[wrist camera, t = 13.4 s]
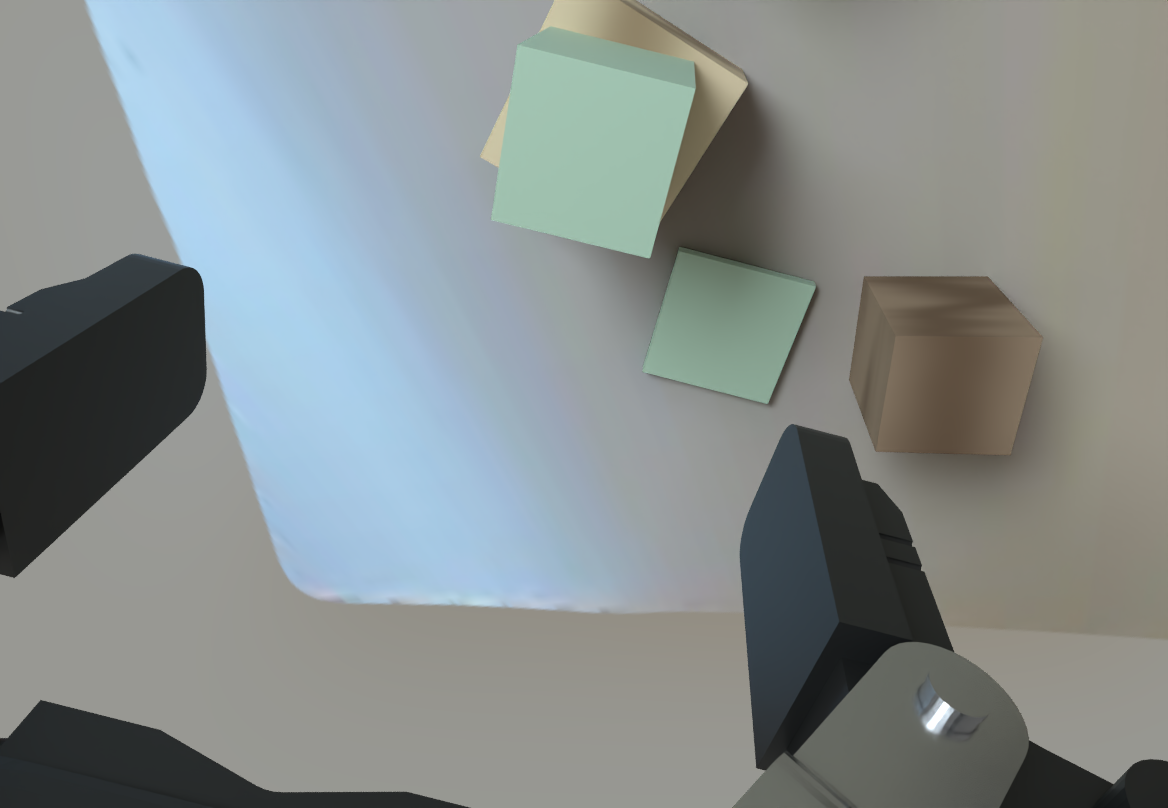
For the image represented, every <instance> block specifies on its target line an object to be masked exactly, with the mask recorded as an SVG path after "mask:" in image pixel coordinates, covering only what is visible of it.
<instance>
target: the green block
mask: <svg viewBox="0 0 1168 808" xmlns="http://www.w3.org/2000/svg"><path fill="white" fill-rule="evenodd" d="M695 89H696V86H695V68H694V61H690V60H686V59H682V58H678V57H674V56H669V55H665V54H661V53H657V52H653V51H649V50H645V49H641V48H637V47H633V46H629V45H625V44H621V43H617V42H613V41H609V40H605V39H601V38H597V37H593V36H588V35H584V34H580V33H576V32H572V31H568V30H564V29H560V28H556V27H552V26H550V27H548V28H547V29H545V30H543V31H541V32H540V33H538V34H536V35H534V36H532V37H531V38H529V39H527V40H525V41H523V42H522V43H520V44H518V45H517V52H516V59H515V65H514V72H513V78H512V85H511V91H510V98H509V105H508V111H507V118H506V124H505V131H504V137H503V144H502V150H501V157H500V164H499V170H498V177H497V183H496V190H495V196H494V203H493V210H492V216H491V220H493V221H498V222H502V223H506V224H510V225H514V226H518V227H522V228H526V229H530V230H534V231H538V232H543V233H547V234H551V235H555V236H559V237H563V238H567V239H571V240H575V241H579V242H583V243H588V244H592V245H596V246H600V247H604V248H608V249H612V250H616V251H620V252H624V253H628V254H633V255H637V256H641V257H645V258H649V259H650V256H651V253H652V249H653V245H654V242H655V238H656V234H657V231H658V227H659V223H660V219H661V216H662V212H663V208H664V205H665V201H666V197H667V193H668V190H669V186H670V182H671V179H672V175H673V171H674V167H675V164H676V160H677V156H678V153H679V149H680V145H681V141H682V138H683V134H684V130H685V127H686V123H687V119H688V115H689V112H690V108H691V104H692V101H693V97H694V93H695Z"/></svg>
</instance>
